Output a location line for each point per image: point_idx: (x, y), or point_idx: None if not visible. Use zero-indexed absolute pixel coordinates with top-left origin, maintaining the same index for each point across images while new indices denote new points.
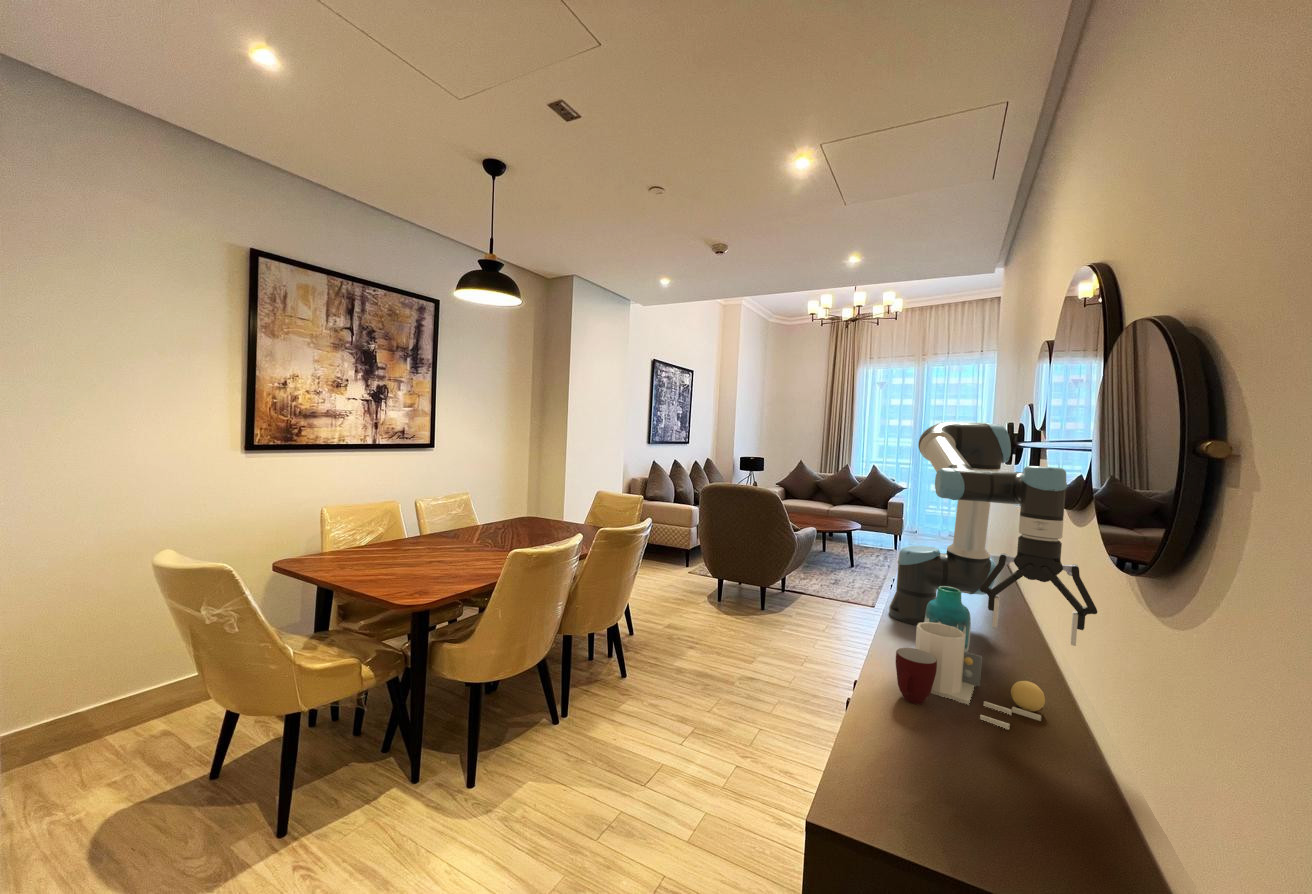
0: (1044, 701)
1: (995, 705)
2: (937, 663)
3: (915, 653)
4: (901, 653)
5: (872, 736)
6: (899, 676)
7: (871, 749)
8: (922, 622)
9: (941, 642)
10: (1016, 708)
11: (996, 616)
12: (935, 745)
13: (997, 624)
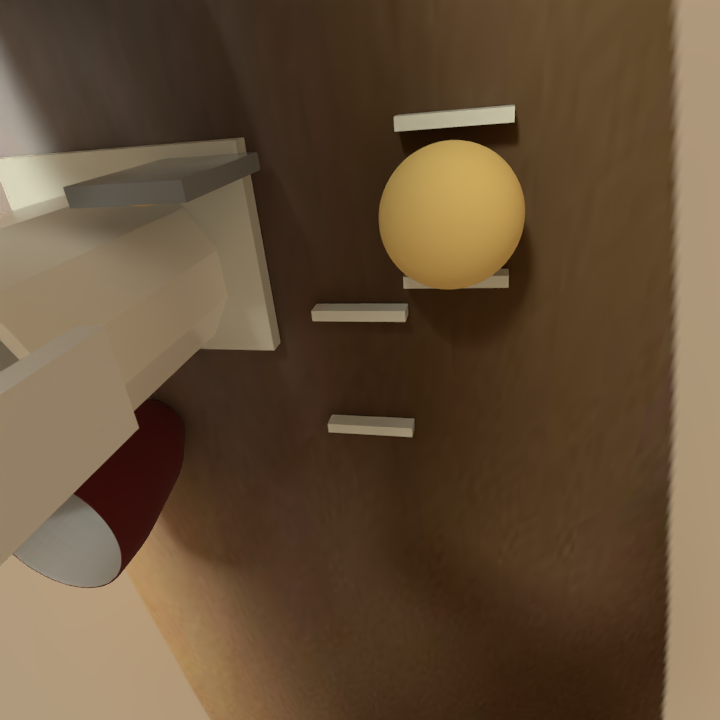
0: (521, 234)
1: (350, 319)
2: None
3: None
4: None
5: (192, 623)
6: (86, 505)
7: (213, 657)
8: None
9: None
10: (418, 285)
11: (62, 498)
12: (289, 595)
13: (107, 344)
